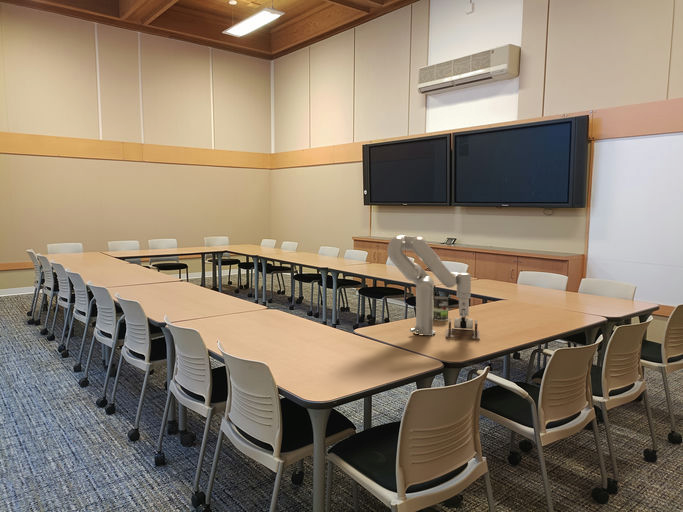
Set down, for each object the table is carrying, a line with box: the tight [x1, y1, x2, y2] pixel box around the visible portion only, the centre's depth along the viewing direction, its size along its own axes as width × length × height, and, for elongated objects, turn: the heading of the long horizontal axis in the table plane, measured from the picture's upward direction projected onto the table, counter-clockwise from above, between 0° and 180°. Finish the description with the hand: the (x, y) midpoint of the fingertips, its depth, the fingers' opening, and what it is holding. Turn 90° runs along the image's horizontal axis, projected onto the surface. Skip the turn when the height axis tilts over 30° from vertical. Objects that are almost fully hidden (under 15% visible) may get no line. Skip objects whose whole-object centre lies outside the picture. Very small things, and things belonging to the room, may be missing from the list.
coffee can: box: [433, 295, 449, 322], centre depth 305 cm, size 10×10×14 cm
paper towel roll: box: [453, 317, 474, 329], centre depth 267 cm, size 10×6×6 cm, turn 76°
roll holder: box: [445, 318, 481, 341], centre depth 267 cm, size 18×16×8 cm
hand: (463, 326), depth 267 cm, fingers closed on paper towel roll, 5 cm apart
